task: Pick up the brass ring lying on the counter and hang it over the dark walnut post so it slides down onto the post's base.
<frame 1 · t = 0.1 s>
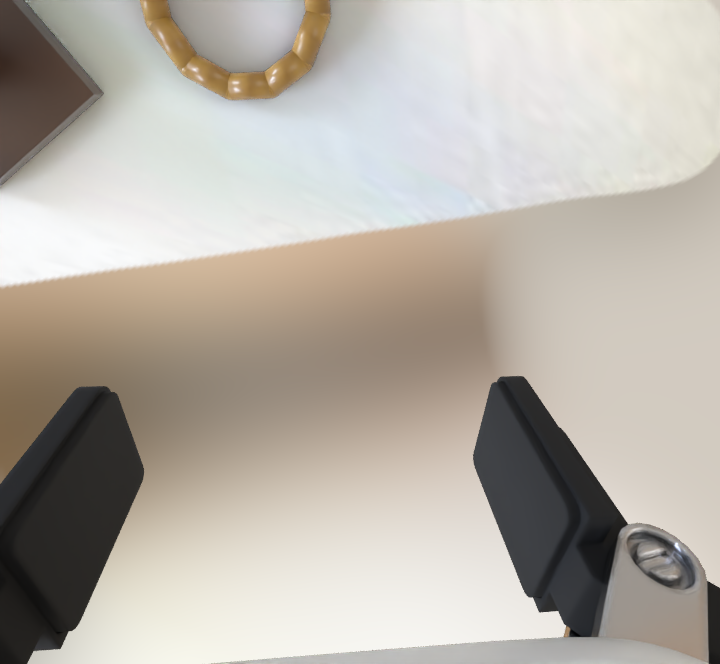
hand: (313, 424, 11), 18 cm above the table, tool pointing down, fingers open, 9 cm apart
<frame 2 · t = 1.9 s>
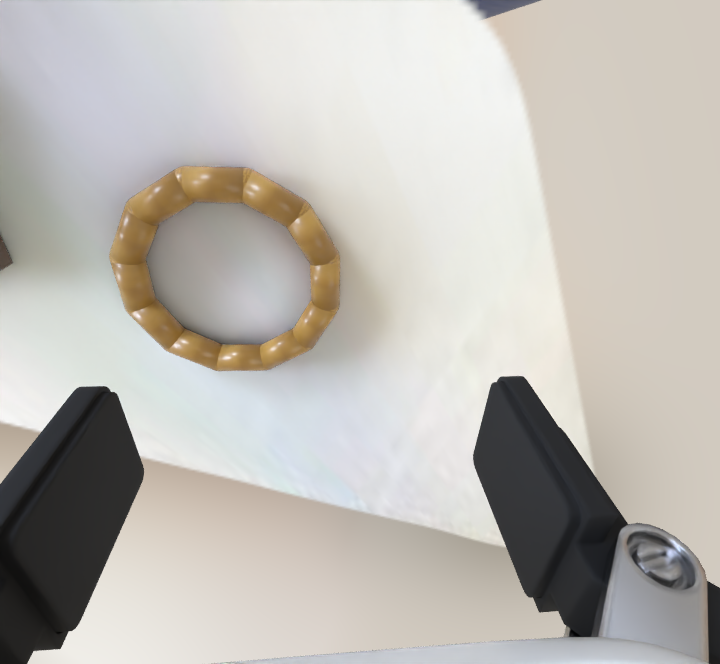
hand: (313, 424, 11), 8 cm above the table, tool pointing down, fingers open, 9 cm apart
ring: (231, 281, 17), point 1 cm above the table
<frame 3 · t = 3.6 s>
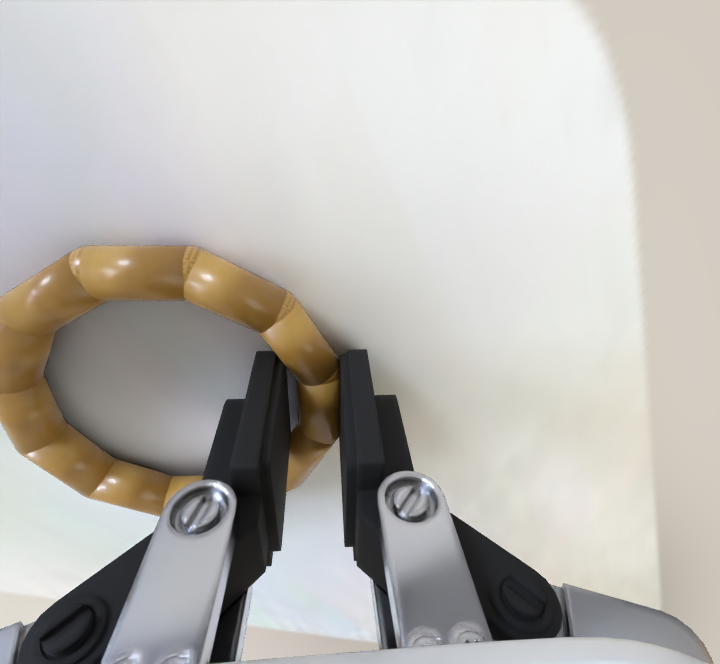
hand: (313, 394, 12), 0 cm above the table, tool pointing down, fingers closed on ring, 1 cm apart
ring: (178, 404, 11), point 1 cm above the table, touching gripper
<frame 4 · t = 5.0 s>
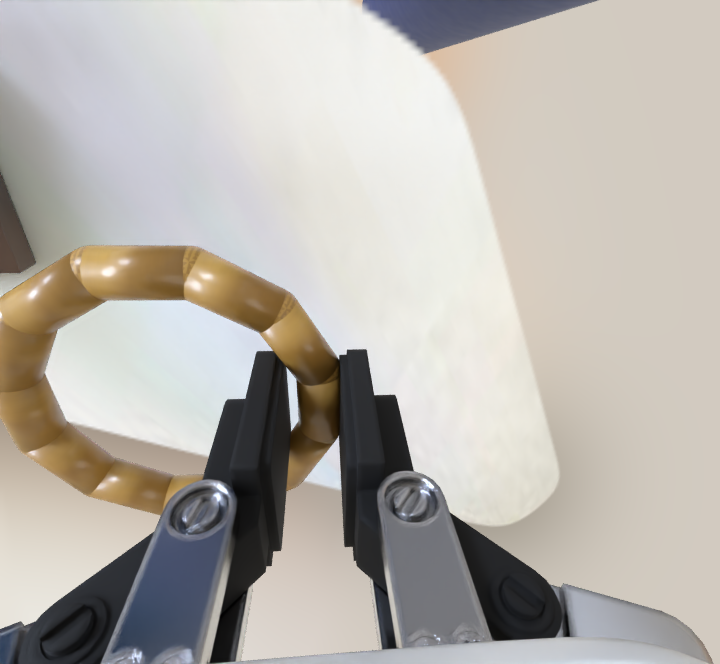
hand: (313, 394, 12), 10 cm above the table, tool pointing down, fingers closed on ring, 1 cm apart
ring: (178, 403, 11), point 10 cm above the table, touching gripper
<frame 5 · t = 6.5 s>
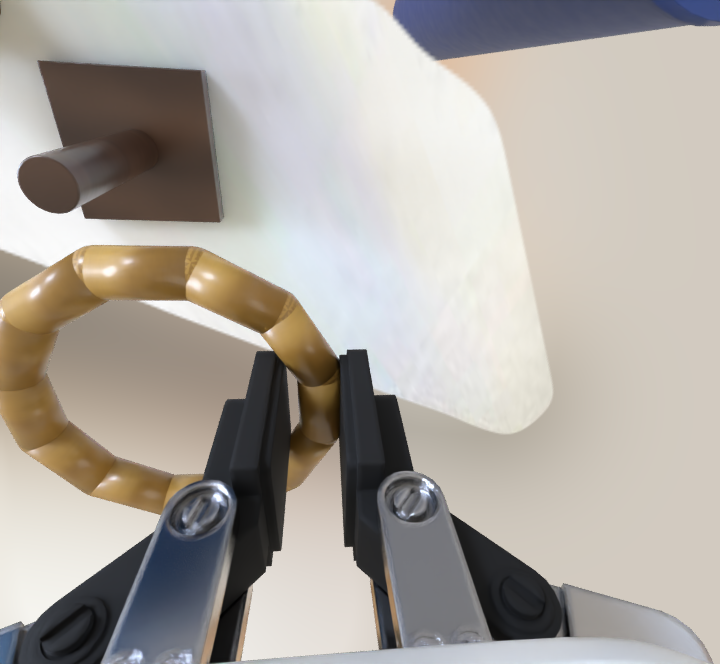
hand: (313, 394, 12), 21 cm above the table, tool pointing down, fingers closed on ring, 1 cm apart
ring: (179, 403, 11), point 21 cm above the table, touching gripper
rack: (145, 147, 27), on the table
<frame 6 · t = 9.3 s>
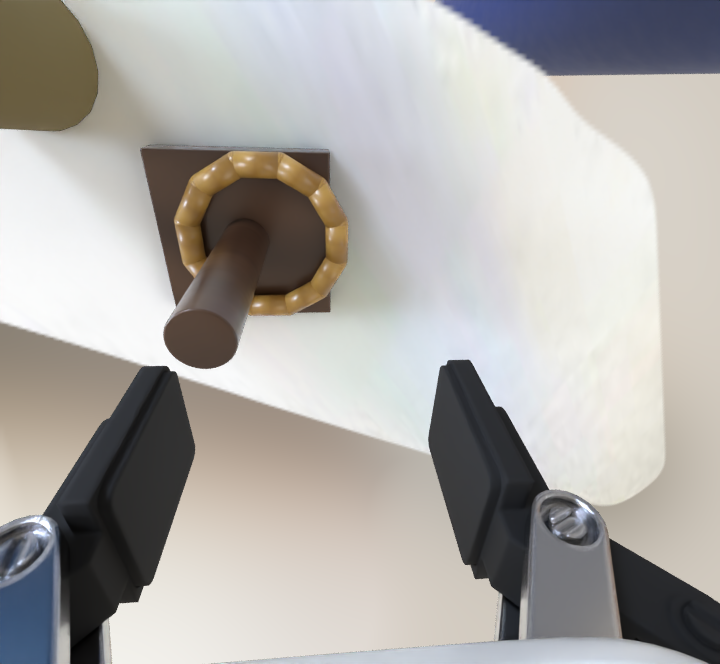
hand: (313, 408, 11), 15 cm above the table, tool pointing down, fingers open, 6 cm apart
cork: (26, 56, 18), on the table
ring: (264, 241, 22), point 2 cm above the table, touching rack
rack: (249, 233, 23), on the table
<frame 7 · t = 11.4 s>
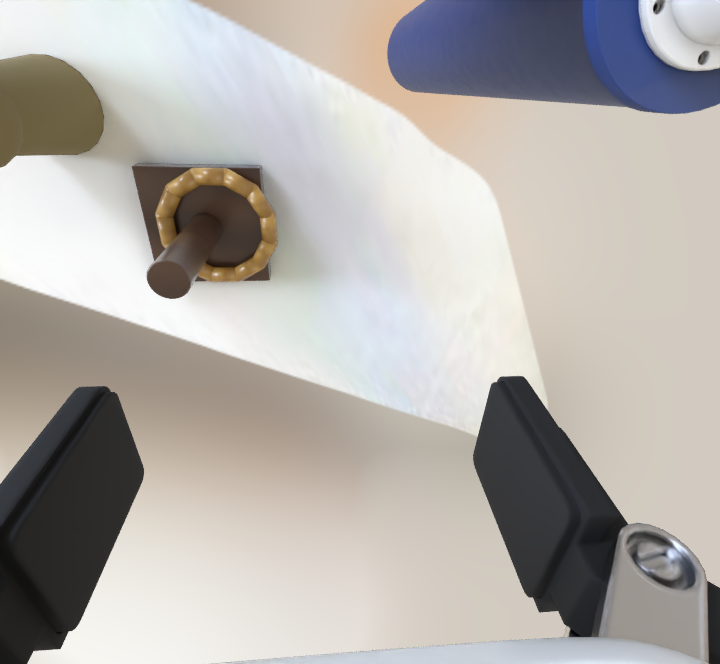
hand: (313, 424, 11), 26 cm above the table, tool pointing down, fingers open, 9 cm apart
cork: (56, 107, 28), on the table
ring: (218, 228, 31), point 2 cm above the table, touching rack
rack: (209, 223, 33), on the table
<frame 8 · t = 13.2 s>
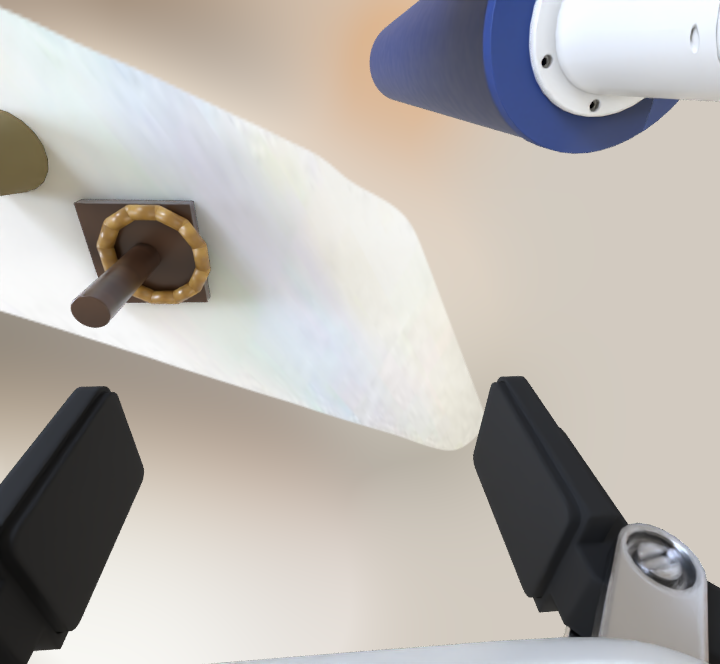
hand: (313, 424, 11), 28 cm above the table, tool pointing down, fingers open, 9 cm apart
cork: (5, 151, 32), on the table
ring: (155, 257, 35), point 2 cm above the table, touching rack
rack: (150, 251, 36), on the table
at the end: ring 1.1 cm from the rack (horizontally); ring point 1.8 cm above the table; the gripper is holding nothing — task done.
